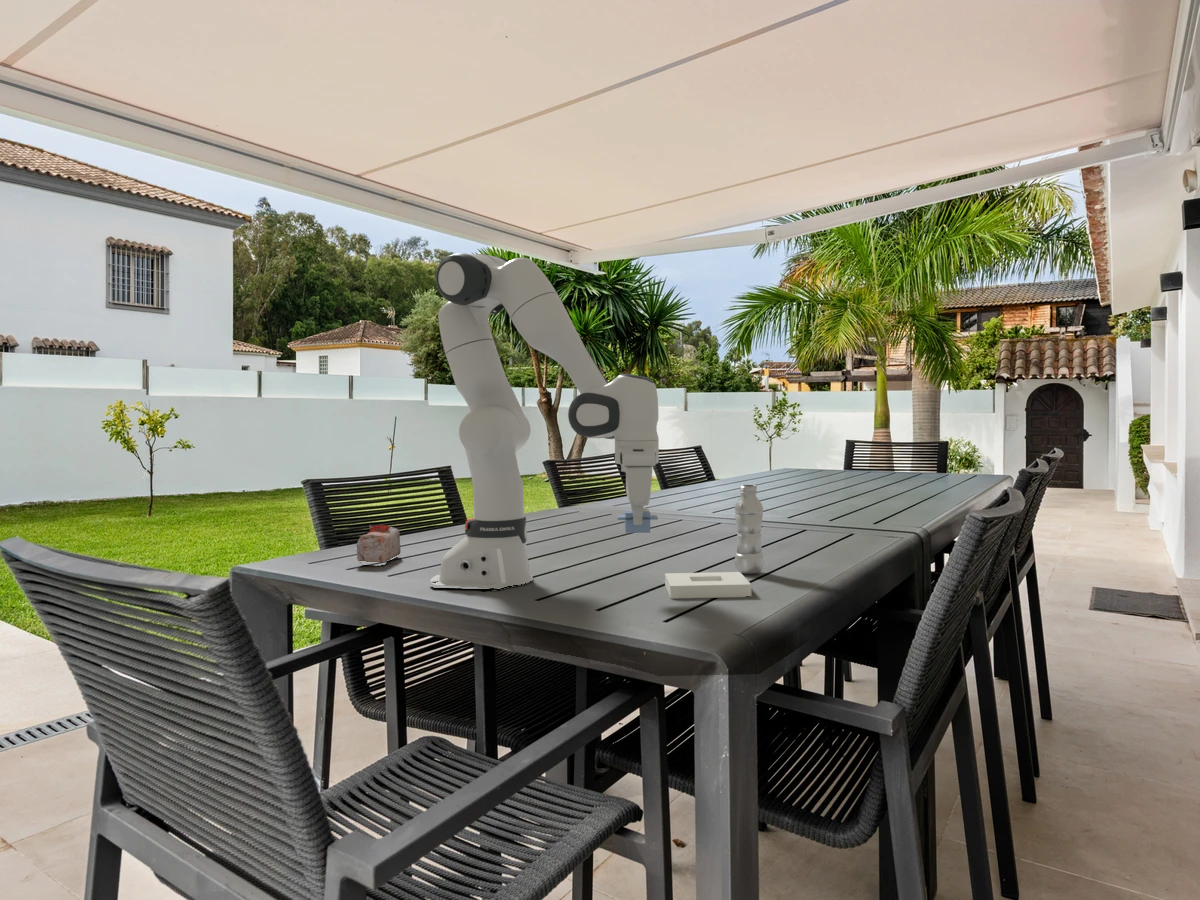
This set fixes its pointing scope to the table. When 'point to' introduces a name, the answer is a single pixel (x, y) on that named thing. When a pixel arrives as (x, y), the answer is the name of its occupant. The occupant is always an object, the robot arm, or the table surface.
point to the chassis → (707, 585)
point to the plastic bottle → (749, 531)
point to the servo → (637, 528)
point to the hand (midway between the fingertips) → (637, 523)
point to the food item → (379, 544)
